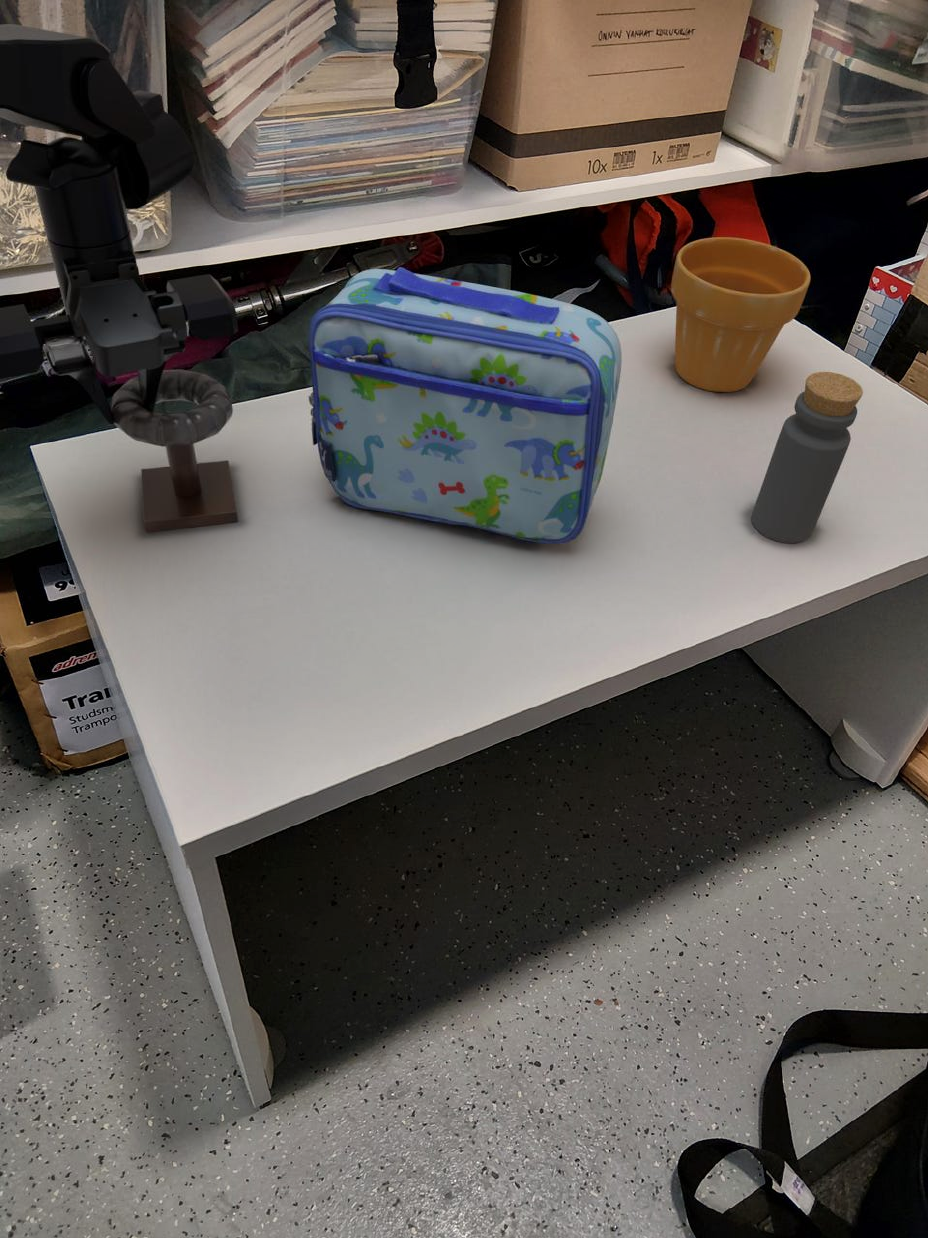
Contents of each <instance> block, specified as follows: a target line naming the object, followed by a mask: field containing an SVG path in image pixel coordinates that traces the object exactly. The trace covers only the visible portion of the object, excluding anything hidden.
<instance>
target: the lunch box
mask: <svg viewBox="0 0 928 1238" xmlns="http://www.w3.org/2000/svg"><path fill="white" fill-rule="evenodd" d="M308 348H309V359H310V371H311V384H312V385H311V386H312V392H311V393H310V395H308V402H309V405H310V406H312V408H310V416H311V417H312V418H311V435H312V436H311V437H312V445H313V446H316V445H317V449H318V456H319V460H320V464H321V467H322V470H323V473H324V474H323V475H324V476H325V478H326V479H327V481H328V482H329V485H331V487H332V489H333V490H334V492H335V493H336V495H337V496H338V497H339V498H340V499H341V500H342V501H343V502H344V503H346V504H347V505H349V506H352V507H353V508H354V507H355V508H358V509H362V510H363V509H364V510H370V511H378V512H383V513H390V514H396V515H399V516H406V517H410V518H415V519H419V520H420V519H421V520H426V521H430V522H436V523H444V524H448V525H452V526H453V525H454V526H455V525H456V526H467V527H470V528H476V529H480V530H484V531H488V532H492V533H496V534H499V535H503V536H508V537H511V538H515V539H519V540H523V541H527V542H531V543H538V544H539V543H540V544H551V545H552V544H554V545H555V544H565V543H569V542H571V541H574V540H575V539H576V538H577V537H578V536H579V535H580V534H581V533H582V531H583V529H584V527H585V524H586V522H587V519H588V515H589V512H590V510H591V509H592V506H593V501H594V499H595V496H596V493H597V491H598V488H599V485H600V482H601V478H602V476H603V472H604V467H605V462H606V458H607V454H608V448H609V444H610V438H611V434H612V433H611V432H612V427H613V423H614V416H615V410H616V404H617V398H618V393H619V388H620V381H621V373H622V345H621V342H620V338H619V336H618V334H617V332H616V331H615V329H614V327H613V326H612V325H611V324H610V323H609V322H608V321H607V320H606V319H604V318H603V317H601V316H600V315H599V314H597V313H595V312H593V311H592V310H589V309H586V308H585V307H581V306H579V305H576V304H573V303H569V302H566V301H561V300H557V299H554V298H548V297H544V296H540V295H535V294H531V293H526V292H522V291H518V290H511V289H506V288H502V287H494V286H489V285H484V284H479V283H474V282H473V283H472V282H467V281H463V280H462V281H461V280H456V279H451V278H450V279H449V278H444V277H439V276H432V275H426V274H420V273H415V272H412V271H410V270H408V269H406V268H404V267H402V266H399V267H398V268H397V269H396V270H393V269H384V268H371V269H365V270H363V271H360V272H359V273H357V274H355V275H354V276H352V277H351V278H350V279H348V281H347V283H346V285H345V286H344V287H343V289H341V291H339V293H338V294H337V295H336V296H335V297H333V299H332V300H331V301H330V302H328V303H327V304H326V305H325V306H323V307H321V308H320V309H318V310H317V311H316V312H315V313H314V314H313V315H312V318H311V320H310V326H309V332H308Z"/></svg>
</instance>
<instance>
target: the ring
mask: <svg viewBox="0 0 928 1238" xmlns="http://www.w3.org/2000/svg"><path fill="white" fill-rule="evenodd" d="M170 401H172V402H173V401H184V402H187V403H188V402H189V403H193V404H196V405H198V406H197V407H193V408H192V409H189V410H186V411H184V412H175V413H172V412H171V413H159V412H155V411H154V412H151V411H147V410H146V409H145V408H144V406H143V402H142V398H141V394H140V388H139V380H138V376H135V377H132V378H130V379H128V380H127V381H126V382H125V383H124V384H123V385H121V387H120V388H119V389H117V390H116V391H115V392H114V394H113V396H112V398H111V403H110V404H111V406H110V408H111V411H112V415H113V420H114V425H115V426H116V428H118V429H119V430H120V431H122V432H123V433H124V434H125V435H127V436H128V437H130V439H132V440H133V441H136V442H139V443H145V444H148V445H153V446H158V447H165V448H166V446H178V445H190V444H194V445H195V444H196V443H199V442H202V441H204V440H206V439H207V440H208V439H209V438H212V437H214V436H216V435H218V434H219V433H220V432H221V431H222V429H223V428H224V427H225V426H226V425H227V423H228V422H229V421H230V420H231V418H232V417H233V413H234V408H233V402H232V399H231V393H230V392H229V390H228V389H227V387H226V386H225V385H223V384H222V383H220V382H219V381H218V380H216V379H215V378H213V377H212V376H210V375H208V374H206V373H202V372H196V371H192V370H187V369H179V368H178V369H166V370H165V369H164V370H163V373H162V376H161V379H160V383H159V389H158V393H157V398H156V403H155V405H156V404H157V405H158V404H159V403H162V402H170Z"/></svg>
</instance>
